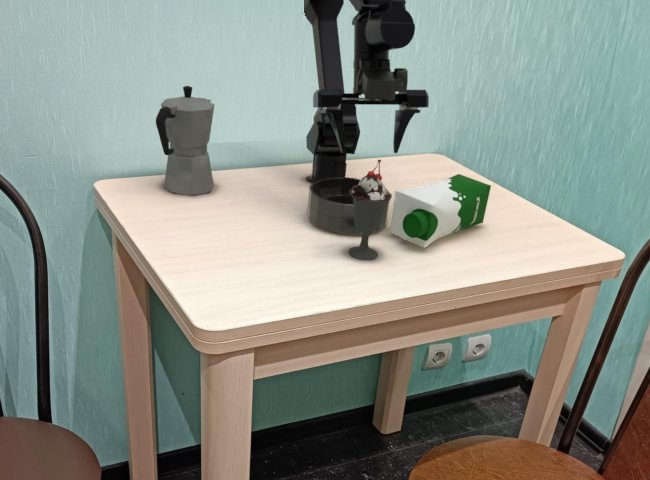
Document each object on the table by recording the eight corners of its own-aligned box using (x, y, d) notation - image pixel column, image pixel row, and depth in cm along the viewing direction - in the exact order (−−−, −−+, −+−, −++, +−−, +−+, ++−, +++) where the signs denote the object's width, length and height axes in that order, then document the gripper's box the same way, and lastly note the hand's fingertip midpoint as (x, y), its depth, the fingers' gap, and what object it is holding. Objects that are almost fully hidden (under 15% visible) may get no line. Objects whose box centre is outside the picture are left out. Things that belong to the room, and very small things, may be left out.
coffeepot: (188, 172, 148) (187, 75, 138) (229, 183, 145) (231, 84, 135) (138, 193, 137) (133, 89, 127) (182, 206, 134) (180, 100, 124)
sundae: (379, 246, 127) (391, 156, 118) (386, 263, 121) (399, 170, 113) (340, 244, 126) (350, 154, 117) (345, 261, 120) (355, 168, 112)
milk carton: (486, 229, 138) (418, 255, 125) (446, 213, 142) (377, 237, 130) (496, 181, 133) (427, 204, 120) (455, 166, 138) (384, 187, 125)
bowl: (291, 214, 135) (293, 184, 132) (350, 201, 143) (353, 172, 140) (342, 242, 127) (345, 211, 123) (402, 227, 135) (407, 197, 132)
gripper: (323, 48, 116) (323, 155, 121) (441, 50, 119) (436, 154, 124) (312, 54, 126) (312, 152, 131) (420, 56, 129) (417, 152, 134)
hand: (369, 153), depth 130 cm, fingers open, 9 cm apart
